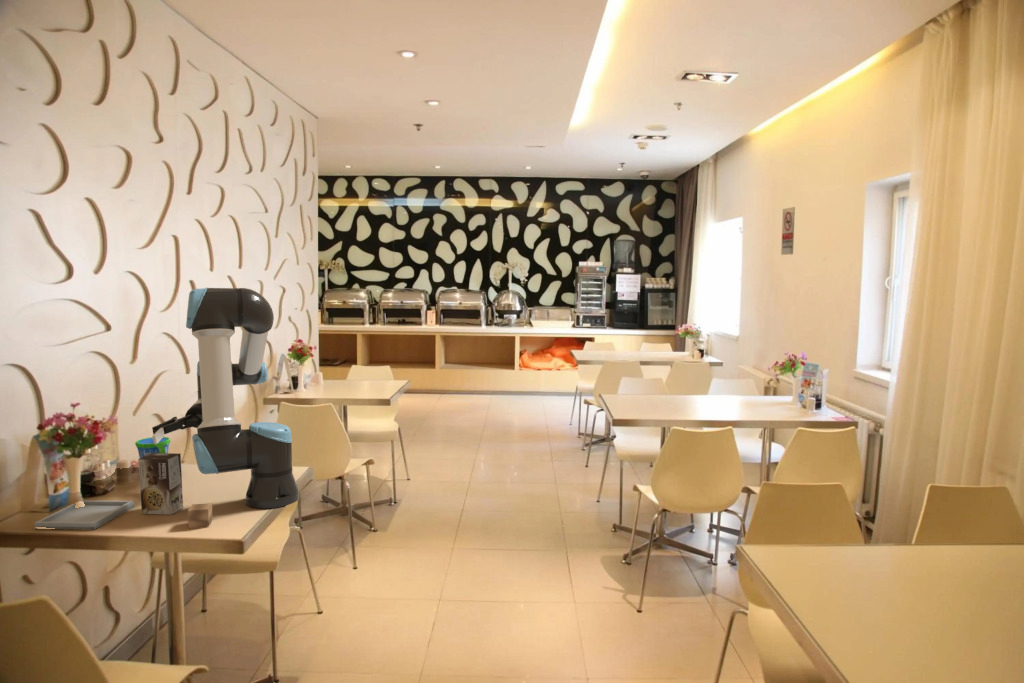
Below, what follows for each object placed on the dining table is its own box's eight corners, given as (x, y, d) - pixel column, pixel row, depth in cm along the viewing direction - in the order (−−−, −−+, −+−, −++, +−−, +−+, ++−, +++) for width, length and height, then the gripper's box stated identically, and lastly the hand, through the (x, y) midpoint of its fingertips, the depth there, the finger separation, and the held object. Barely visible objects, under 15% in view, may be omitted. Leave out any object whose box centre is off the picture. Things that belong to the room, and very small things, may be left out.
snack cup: (131, 466, 236) (129, 438, 235) (163, 461, 243) (162, 433, 242) (144, 476, 225) (142, 446, 224) (177, 470, 232) (176, 441, 231)
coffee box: (184, 507, 195) (181, 453, 193) (171, 515, 188) (168, 459, 187) (154, 506, 195) (151, 452, 194) (140, 514, 189) (137, 458, 187)
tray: (134, 506, 195) (133, 500, 195) (94, 530, 177) (93, 523, 177) (80, 506, 195) (79, 500, 195) (34, 529, 177) (34, 522, 177)
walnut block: (212, 520, 184) (211, 503, 184) (208, 527, 179) (208, 509, 179) (192, 522, 183) (192, 504, 183) (188, 528, 178) (187, 510, 178)
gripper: (241, 421, 223) (223, 446, 203) (163, 427, 220) (136, 453, 200) (238, 399, 221) (219, 422, 201) (159, 405, 219) (132, 429, 198)
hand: (178, 438), depth 200 cm, fingers open, 13 cm apart
